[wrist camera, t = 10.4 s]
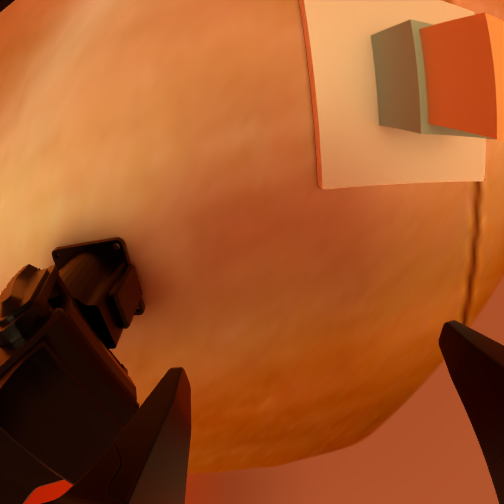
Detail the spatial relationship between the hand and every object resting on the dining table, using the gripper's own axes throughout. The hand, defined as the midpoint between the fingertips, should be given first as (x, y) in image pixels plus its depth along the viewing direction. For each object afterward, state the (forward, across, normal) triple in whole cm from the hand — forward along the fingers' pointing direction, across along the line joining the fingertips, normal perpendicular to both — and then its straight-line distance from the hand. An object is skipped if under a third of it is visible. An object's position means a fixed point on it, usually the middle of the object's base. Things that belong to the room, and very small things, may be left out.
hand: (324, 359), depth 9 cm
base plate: (+13, -10, -9) cm, 19 cm away
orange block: (+7, -10, -9) cm, 15 cm away
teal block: (+12, -10, -9) cm, 18 cm away
